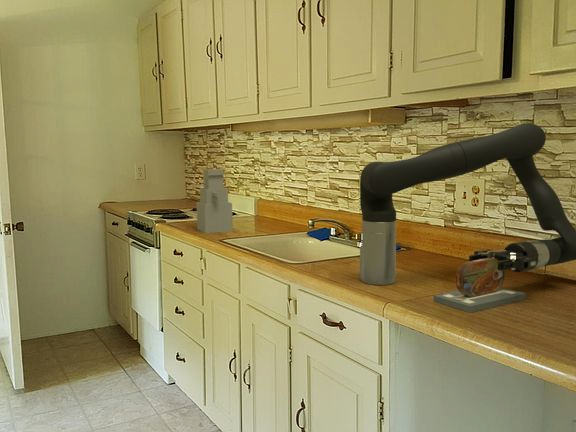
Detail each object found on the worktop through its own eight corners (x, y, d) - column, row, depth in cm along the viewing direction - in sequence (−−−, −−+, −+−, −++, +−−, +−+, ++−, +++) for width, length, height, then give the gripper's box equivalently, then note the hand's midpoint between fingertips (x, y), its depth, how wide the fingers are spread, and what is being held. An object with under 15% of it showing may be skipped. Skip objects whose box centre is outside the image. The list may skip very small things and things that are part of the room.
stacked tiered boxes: (219, 226, 265) (217, 168, 261) (236, 232, 244) (235, 170, 240) (193, 227, 259) (191, 169, 256) (208, 234, 238) (207, 170, 235)
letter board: (433, 301, 131) (433, 294, 131) (488, 289, 142) (488, 283, 141) (470, 312, 122) (470, 305, 122) (525, 299, 132) (526, 293, 132)
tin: (463, 299, 127) (464, 264, 126) (452, 296, 130) (453, 261, 129) (505, 290, 135) (506, 257, 134) (494, 287, 137) (495, 255, 136)
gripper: (503, 237, 145) (461, 243, 137) (552, 245, 133) (510, 252, 125) (502, 265, 146) (460, 272, 138) (551, 275, 134) (509, 284, 126)
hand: (484, 263), depth 131 cm, fingers open, 8 cm apart
